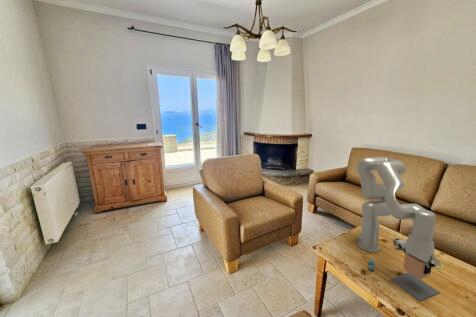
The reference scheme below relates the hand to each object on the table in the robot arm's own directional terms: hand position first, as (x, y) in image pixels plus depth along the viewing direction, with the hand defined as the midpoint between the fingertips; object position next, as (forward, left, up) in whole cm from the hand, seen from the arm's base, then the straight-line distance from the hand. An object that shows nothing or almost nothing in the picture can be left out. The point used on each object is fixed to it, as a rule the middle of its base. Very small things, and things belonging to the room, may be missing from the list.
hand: (417, 267), depth 101 cm
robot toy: (-22, +30, -11) cm, 39 cm away
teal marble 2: (-15, -10, -8) cm, 20 cm away
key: (-9, +27, -12) cm, 31 cm away
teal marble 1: (-19, -6, -8) cm, 21 cm away
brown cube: (0, 0, -2) cm, 2 cm away
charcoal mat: (0, 0, -11) cm, 11 cm away
